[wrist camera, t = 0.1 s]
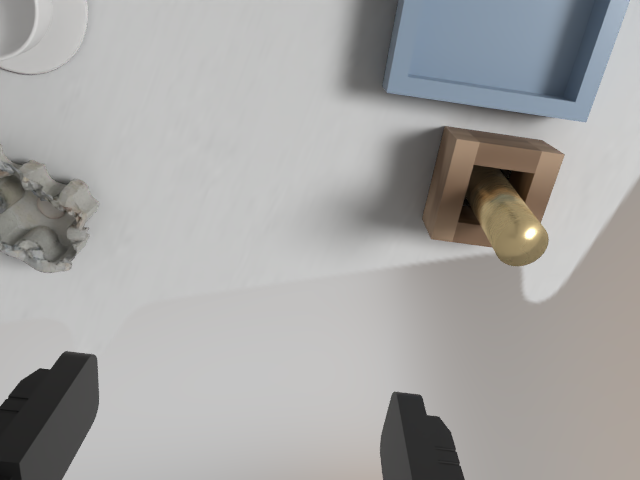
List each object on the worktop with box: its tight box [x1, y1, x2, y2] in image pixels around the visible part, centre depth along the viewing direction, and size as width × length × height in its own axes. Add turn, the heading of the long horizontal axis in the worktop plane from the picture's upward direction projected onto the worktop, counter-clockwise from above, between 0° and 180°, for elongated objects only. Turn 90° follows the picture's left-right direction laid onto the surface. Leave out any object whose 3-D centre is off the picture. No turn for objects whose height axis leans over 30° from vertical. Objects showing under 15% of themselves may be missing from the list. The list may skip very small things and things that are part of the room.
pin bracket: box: [422, 126, 564, 247], centre depth 39 cm, size 8×8×4 cm
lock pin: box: [465, 165, 548, 266], centre depth 36 cm, size 3×3×10 cm
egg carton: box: [0, 144, 99, 273], centre depth 39 cm, size 11×8×4 cm
